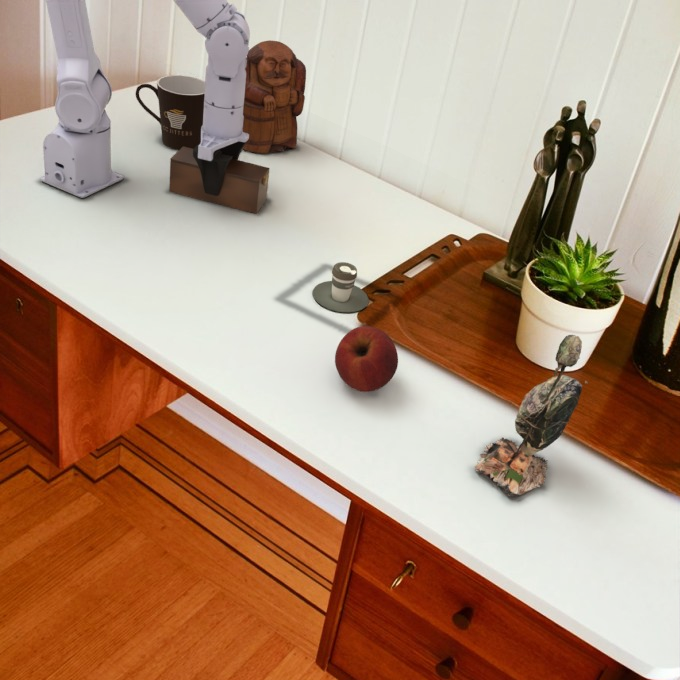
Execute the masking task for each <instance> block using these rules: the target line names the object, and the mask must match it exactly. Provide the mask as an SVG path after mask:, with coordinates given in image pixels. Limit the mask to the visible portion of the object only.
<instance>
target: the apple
mask: <svg viewBox="0 0 680 680" xmlns="http://www.w3.org/2000/svg"><path fill="white" fill-rule="evenodd" d="M397 350H398V349H397V347H396V344H395V343H394V341H393V339H392V338H391V337H390V335H388V333H386V332H385V331H384V330H382V329H380V328H378V327H375V326H371V325H369V326H368V325H362V326H358V327H355V328H353V329H351V330H350V331H348V332H347V333H346V334H345V335H344V336H343V337H342V339H341V340H340V341H339V343H338V345H337V347H336V350H335V353H334V354H335V355H334V364H335V365H334V366H335V368H336V371H337V374H338V376H339V377H340V379H341V380H342V381H343V382H344V384H346V385H347V386H348V387H349V388H351V389H353V390H355V391H358V392H361V393H370V392H374V391H377V390H379V389H381V388H383V387H385V386H387V384H388V383H390V382H391V380H392V379H393V378H394V377H395V374H396V372H397V370H398V365H399V356H398V351H397Z"/></svg>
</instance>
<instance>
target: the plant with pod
mask: <svg viewBox="0 0 680 680" xmlns="http://www.w3.org/2000/svg"><path fill="white" fill-rule="evenodd" d="M582 344H583V341H582V340H581V338H580V336H578V335H576V334H568V335H566V336H564V337H563V339H562V340H561V342H560V343H559V346H558V349H557V352H556V354H555V361H556V363H557V366H556V367H555V370H554V372H553V376H552V377H551V378H548V379H546V380H545V381H543V382H542V383H540V384H536V385H535V386H533V387H532V389H530V391H528V392H527V393H526V394H525V395H524V397H523V399H522V401H521V404H520V406H519V407H518V410H517V414H516V418H515V419H514V427H515V432H516V433H517V434H518V435H519V436H520V438H522V441H521V443H520V444H519V446H518V445H517V444H516V442H515V441H513V440H510V439H508V438H505V437H501V438H499V439H497V440H496V441H495V442H490V443H489V444H488V445H485V448H484V450H483V452H484V453H480V454H479V456H480V459H478V462H477V463H476V465H474V468H475V470H476V472H477V473H478V472H479V474H484V475H485V476H488V475H489V479H490V480H491V479H492V478H493V479H492V481H493V482H495V483H497V484H496V486H498V487H500V488H501V489H503V491H504V493H506V494H507V496H509V497H515V498H516V497H520V496H521V495H524V494H526V493H527V492H530V491H531V490H533V489H537V488H541V486H542V485H544V483H545V481H546V479H547V477H546V471H547V470H548V468H547V467H548V461H549V460H546V459H545V458H544V457H541V456H537V455H535V454H537V453H539V452H541V451H542V450H544V449H546V448H548V447H550V446H551V445H552V444H553V443H554V442H555V441H557V440H558V439H559V438H560V437H561V436H562V434H563V432H564V431H565V429H566V426H567V425H568V423H569V422H570V419H571V417H572V415H573V413H574V412H575V410H576V408H577V407H578V405H579V400H580V396H581V395H582V390H583V384H581V382H580V381H579V380H578V379H577V378H573V377H572V376H569V375H565V374H564V372H565V370H566V368H567V367H569V368H572V367H574V366H575V365H577V363H578V362H579V361H578V360H579V359H581V358H580V356H581V353H582V347H583V345H582ZM559 370H560V371H559ZM558 372H559V373H558ZM557 374H558V375H557ZM584 383H585V384H586V385H587V384H588V383H589V382H588V381H587V380H585V381H584Z"/></svg>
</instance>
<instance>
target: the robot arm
mask: <svg viewBox="0 0 680 680" xmlns="http://www.w3.org/2000/svg"><path fill="white" fill-rule="evenodd" d="M86 2H87V1H86V0H45V3H46V7H47V13H48V18H49V23H50V28H51V32H52V37H53V42H54V47H55V52H56V56H57V67H56V68H57V69H56V85H57V96H56V99H55V103H54V110H55V114H56V116H57V118H58V122H57V125H56V127H55V128H54V129H53V131H51V132H50V133H48V134H47V135H46V136H45V138H44V139H43V145H42V148H43V149H42V150H43V166H44V167H43V168H44V176H41V177H40V181H41V182H43V183H46V184H47V185H50V186H52V187H54V188H57V189H58V190H62V191H64V192H66V193H69V194H70V195H73V196H76V197H78V198H80V199H84V198H86V197H89V196H90V195H93V194H95V193H97V192H99V191H101V190H103V189H105V188H108V187H110V186H112V185H114V184H116V183H118V182H120V181H123V180H124V175H122V174H120V173H117V172H116V171H113V170H112V141H111V139H112V138H111V137H112V135H111V134H112V132H111V129H112V127H111V125H112V124H111V122H112V121H111V119H110V117H109V115H108V113H107V111H106V107H107V105H108V104H109V103H110V102H111V98H112V95H113V89H112V84H111V82H110V81H109V79H108V77H107V76H106V75H105V73H104V71H103V69H102V63H101V59H100V58H99V56H98V55H97V53H96V52H95V47H94V42H93V41H94V40H93V36H92V31H91V25H90V18H89V14H88V9H87V3H86ZM173 2H174V4H176V6H177V8H179V9H180V11H181V12H182V13H183V14H184V16H185V17H186V18H187V20H188V21H189V22H190V24H191V25H192V26H193V27H194V29H195V30H196V31H197V32H198V33H199V34H200V35H202V36H203V37H204V38H205V40H204V46H205V51H206V52H207V55H208V58H207V65H206V67H205V78H204V79H205V80H204V81H205V94H204V112H203V125H202V127H201V143H200V145H197V146H196V147H195V148H194V149H193V157H194V158H195V160H196V162H197V164H198V166H199V169H200V172H201V176H202V181H203V186H204V191H205V193H207V194H210V195H214V196H218V195H219V193H220V190H221V187H222V183H223V178H224V174H225V171H226V168H227V166H228V164H229V162H230V160H231V159H236V160H239V157H240V155H241V153H242V151H243V150H244V149H243V147H244V145H245V144H246V142H247V141H248V139H249V134H247V133H244V132H243V129H242V128H243V120H244V116H243V107H244V96H245V84H246V71H245V68H246V63H247V60H246V57H247V54H248V52H249V50H250V46H249V44H250V38H251V32H250V31H251V30H250V27H249V24H248V22H247V20H246V17H245V15H244V14H243V13H241V12H240V11H239V10H238V8H237V7H236V5H235V4H234V3H231V4H230V3H229V2H228V1H227V0H173Z"/></svg>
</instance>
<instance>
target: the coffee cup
mask: <svg viewBox="0 0 680 680" xmlns="http://www.w3.org/2000/svg"><path fill="white" fill-rule="evenodd" d="M331 274H332V276H331V280H328V281H323V282H321V283H318V284H317V285H316V286H314V288H313V290H312V297H313V298H314V300H315V301H316V302H317V303H318V304H319V305H320V306H321V307H322V308H325V309H326V310H329V311H331V312H334V313H341V314H352V313H356V312H360V311H362V310H364V309H365V308H366V307H367V306H368V304H369V297H368V295H367V293H366V291H364V290H363V289H362V288H361V287H358V286H357V285H355V283H356V278H357V277H358V269H357V267H356V266H355V265H354V264H353V263H349V262H343V261H341V262H336V263H334V265H333V266H332V270H331Z"/></svg>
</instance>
